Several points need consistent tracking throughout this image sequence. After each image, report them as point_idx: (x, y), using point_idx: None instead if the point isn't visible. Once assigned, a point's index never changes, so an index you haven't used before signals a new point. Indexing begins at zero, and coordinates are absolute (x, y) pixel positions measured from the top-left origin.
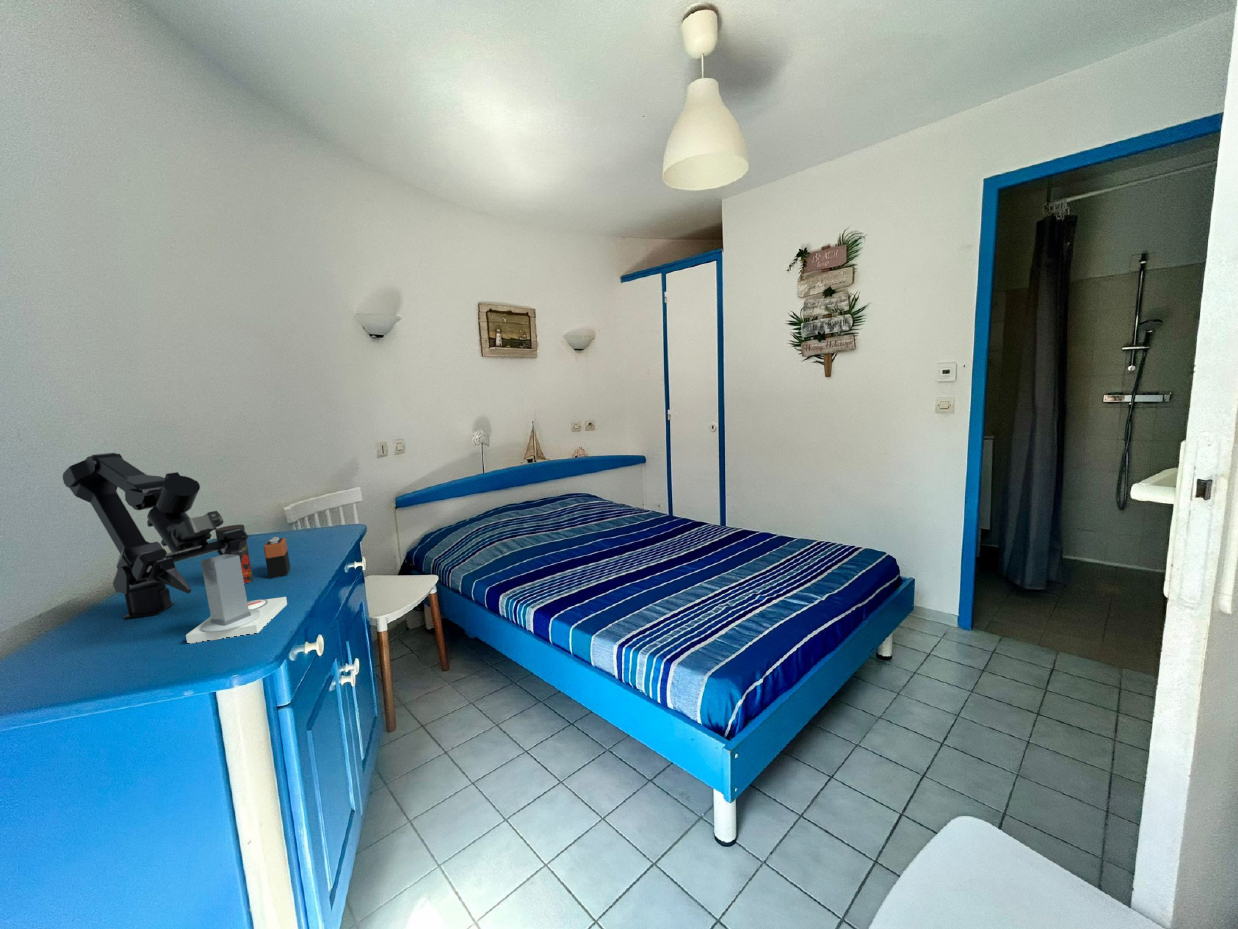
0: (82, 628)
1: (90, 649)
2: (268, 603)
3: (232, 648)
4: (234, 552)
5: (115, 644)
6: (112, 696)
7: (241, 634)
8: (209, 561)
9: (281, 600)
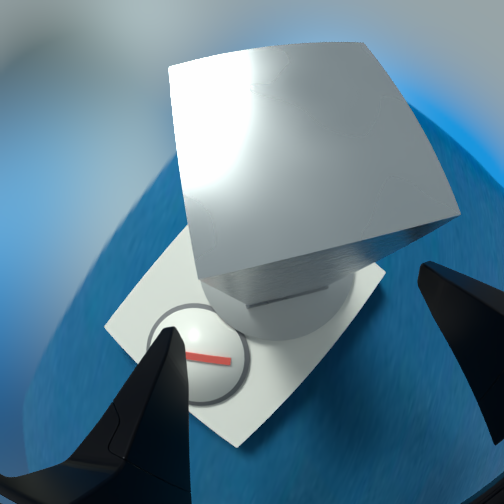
0: None
1: (470, 438)
2: (152, 320)
3: None
4: (101, 453)
5: (449, 432)
6: (463, 148)
7: None
8: (397, 100)
9: (122, 305)
